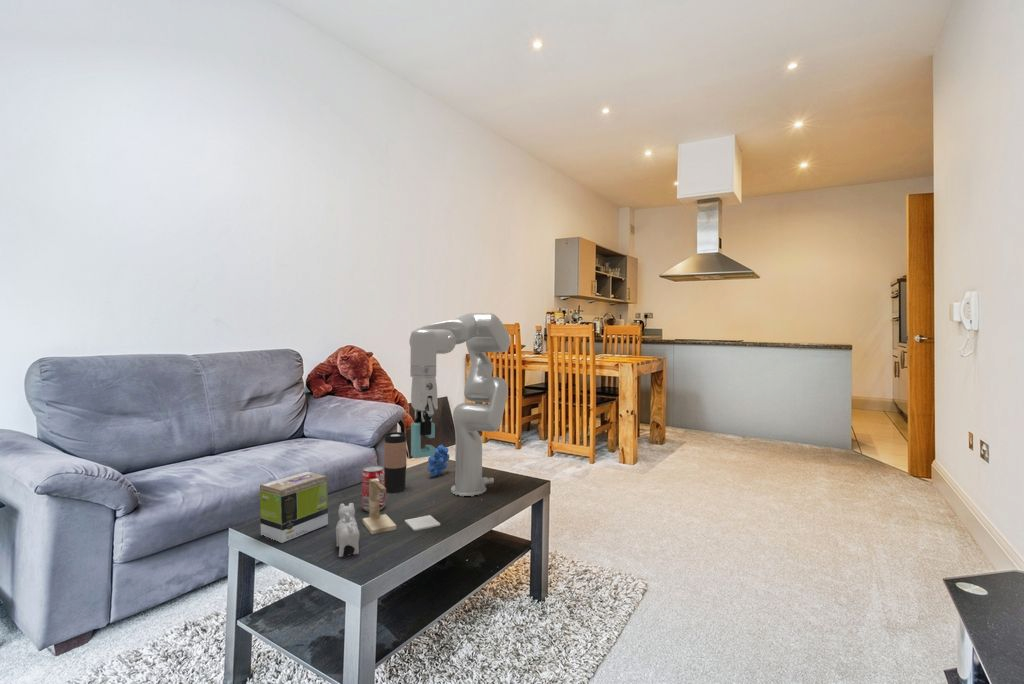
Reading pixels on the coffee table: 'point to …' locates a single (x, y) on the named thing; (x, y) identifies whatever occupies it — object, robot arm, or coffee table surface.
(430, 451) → the c link
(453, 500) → the coffee table surface
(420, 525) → the felt mat
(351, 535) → the dog figurine
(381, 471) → the soda can
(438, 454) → the grapes
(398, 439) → the travel mug
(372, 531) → the stand
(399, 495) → the coffee table surface
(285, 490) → the tea box
